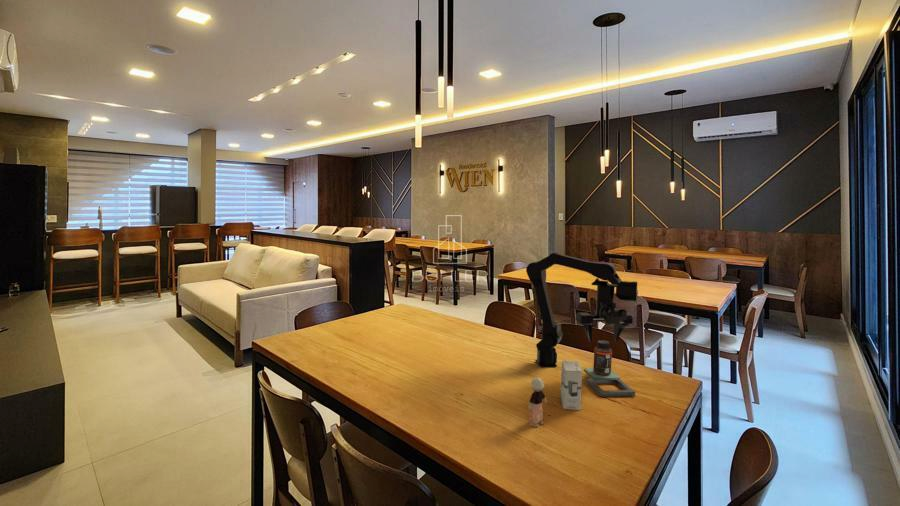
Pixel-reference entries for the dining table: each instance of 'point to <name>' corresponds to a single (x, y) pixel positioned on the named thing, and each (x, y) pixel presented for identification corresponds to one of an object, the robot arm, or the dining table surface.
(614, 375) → the pad
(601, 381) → the grey square frame
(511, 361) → the dining table surface
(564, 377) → the ink box
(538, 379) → the grandmother figurine
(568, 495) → the dining table surface
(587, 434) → the dining table surface
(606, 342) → the supplement bottle
